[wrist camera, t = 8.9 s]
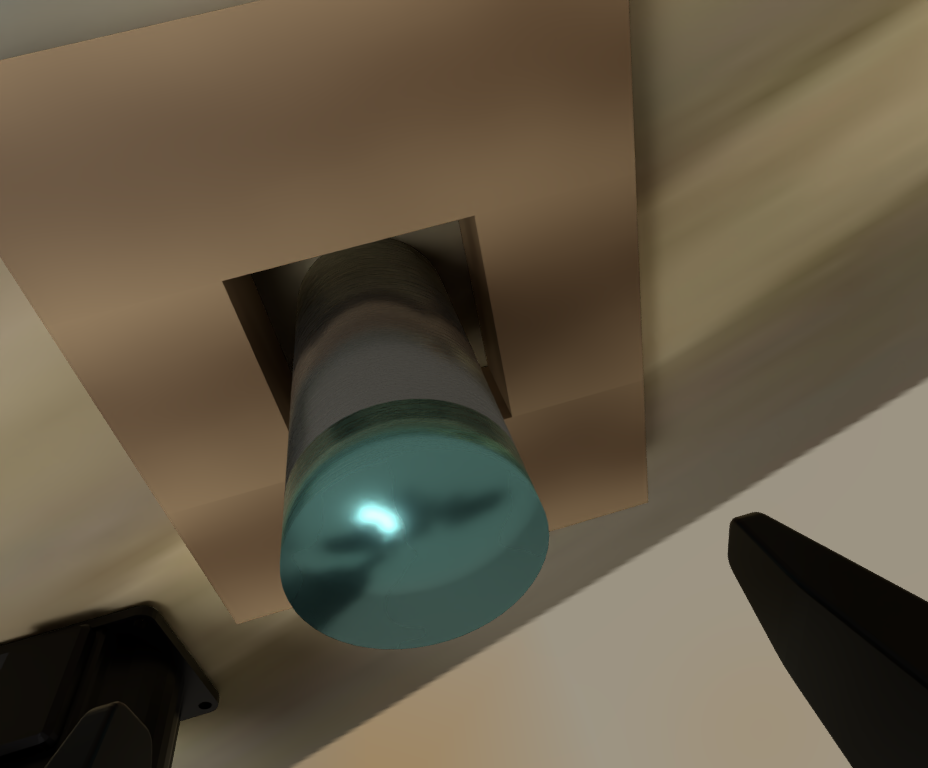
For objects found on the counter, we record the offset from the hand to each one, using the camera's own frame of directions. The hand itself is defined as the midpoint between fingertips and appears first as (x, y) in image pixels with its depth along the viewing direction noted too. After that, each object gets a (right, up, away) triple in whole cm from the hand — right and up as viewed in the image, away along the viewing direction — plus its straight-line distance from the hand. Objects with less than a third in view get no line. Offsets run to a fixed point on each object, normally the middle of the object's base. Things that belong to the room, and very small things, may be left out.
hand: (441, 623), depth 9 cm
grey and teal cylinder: (-2, +6, +10) cm, 11 cm away
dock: (-2, +6, +10) cm, 11 cm away
